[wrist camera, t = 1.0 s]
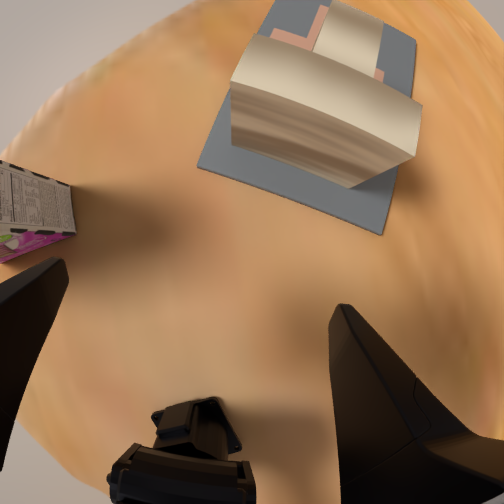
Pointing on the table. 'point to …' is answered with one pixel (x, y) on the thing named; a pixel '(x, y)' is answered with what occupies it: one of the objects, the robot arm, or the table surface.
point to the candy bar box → (32, 211)
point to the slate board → (291, 178)
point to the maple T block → (324, 102)
